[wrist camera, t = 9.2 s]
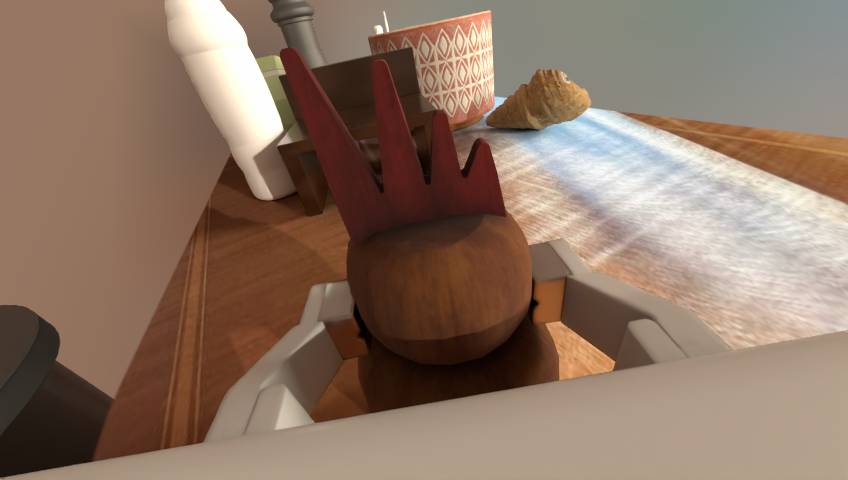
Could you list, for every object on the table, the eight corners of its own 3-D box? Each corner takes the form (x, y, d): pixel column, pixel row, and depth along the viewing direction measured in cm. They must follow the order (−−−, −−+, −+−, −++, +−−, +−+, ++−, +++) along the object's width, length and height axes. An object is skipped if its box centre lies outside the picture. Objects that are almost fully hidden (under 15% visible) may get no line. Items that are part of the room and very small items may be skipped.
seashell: (499, 155, 49) (484, 148, 42) (485, 107, 50) (468, 92, 43) (593, 119, 43) (594, 103, 36) (577, 63, 43) (575, 36, 36)
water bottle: (318, 177, 43) (220, -64, 29) (288, 202, 38) (151, -78, 24) (278, 179, 46) (170, -44, 31) (244, 203, 40) (96, -53, 26)
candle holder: (369, 152, 49) (307, -64, 34) (344, 168, 44) (262, -69, 30) (341, 151, 52) (273, -48, 37) (314, 166, 47) (227, -50, 33)
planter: (445, 145, 45) (428, 23, 37) (369, 133, 58) (344, 41, 49) (516, 107, 55) (516, 4, 46) (438, 104, 67) (427, 23, 59)
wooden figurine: (373, 475, 13) (94, 87, 4) (418, 355, 17) (322, 41, 9) (547, 539, 10) (688, -43, 2) (549, 381, 15) (596, -17, 6)
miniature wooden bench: (308, 216, 34) (250, 89, 27) (320, 175, 44) (280, 75, 36) (448, 183, 35) (429, 50, 27) (428, 150, 44) (411, 46, 37)
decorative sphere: (345, 145, 54) (312, 46, 46) (257, 171, 51) (204, 70, 42) (331, 129, 66) (303, 48, 57) (260, 149, 62) (219, 66, 54)
